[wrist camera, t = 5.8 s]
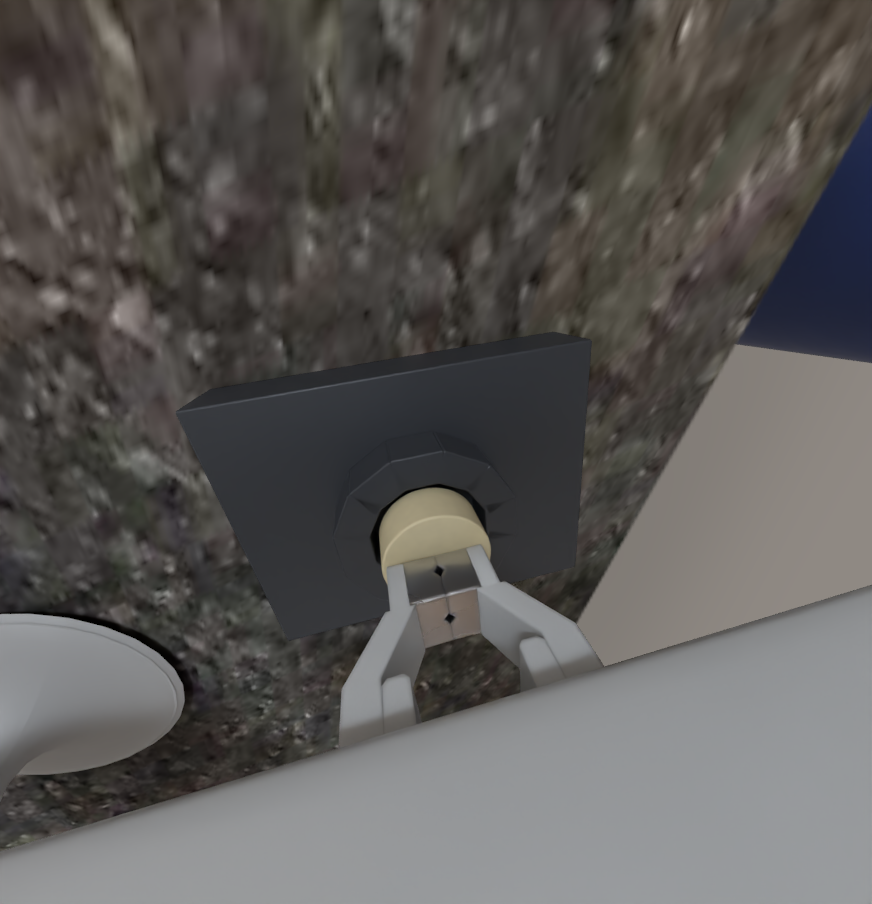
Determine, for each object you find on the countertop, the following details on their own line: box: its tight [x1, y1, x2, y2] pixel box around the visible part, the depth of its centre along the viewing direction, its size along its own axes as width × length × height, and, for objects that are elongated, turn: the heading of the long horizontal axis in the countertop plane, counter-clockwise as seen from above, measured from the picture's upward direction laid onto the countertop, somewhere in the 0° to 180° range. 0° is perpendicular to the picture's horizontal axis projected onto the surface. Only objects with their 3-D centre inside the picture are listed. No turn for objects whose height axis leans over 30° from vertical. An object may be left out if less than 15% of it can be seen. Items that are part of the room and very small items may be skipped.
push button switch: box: [379, 487, 491, 585], centre depth 12 cm, size 4×4×2 cm
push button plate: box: [176, 332, 592, 641], centre depth 14 cm, size 14×11×4 cm
